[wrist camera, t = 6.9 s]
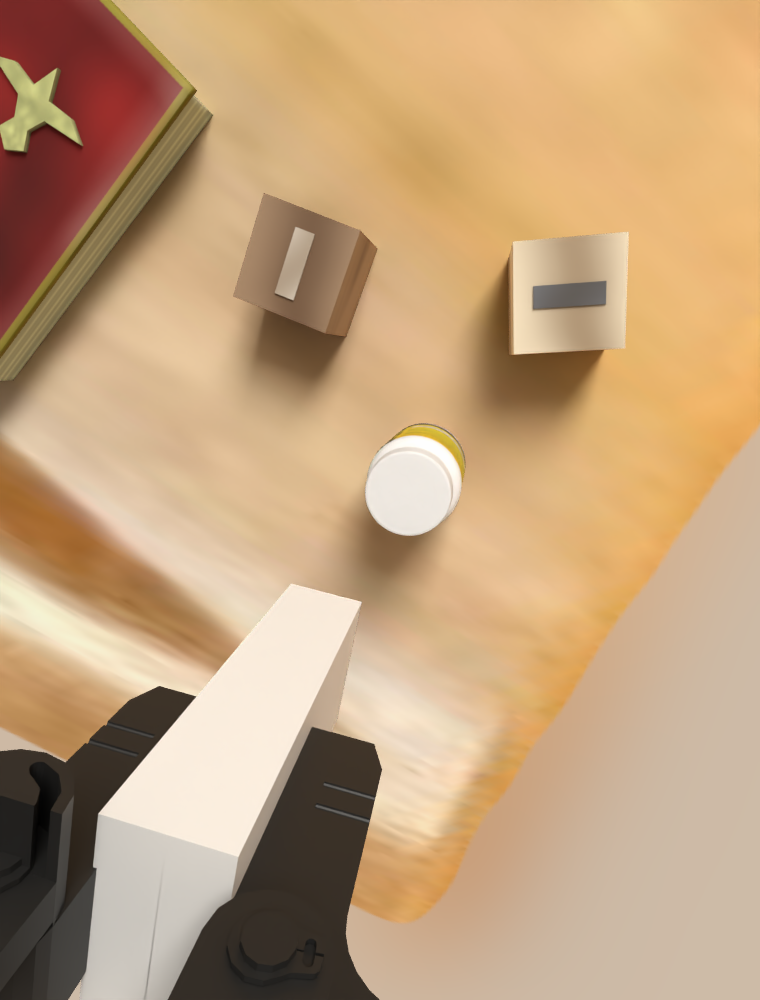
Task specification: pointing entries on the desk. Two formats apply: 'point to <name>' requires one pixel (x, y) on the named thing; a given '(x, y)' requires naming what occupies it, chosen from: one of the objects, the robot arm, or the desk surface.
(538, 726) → the desk surface
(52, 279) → the hardcover book
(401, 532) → the supplement bottle
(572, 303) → the beech block
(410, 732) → the desk surface
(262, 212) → the walnut block
